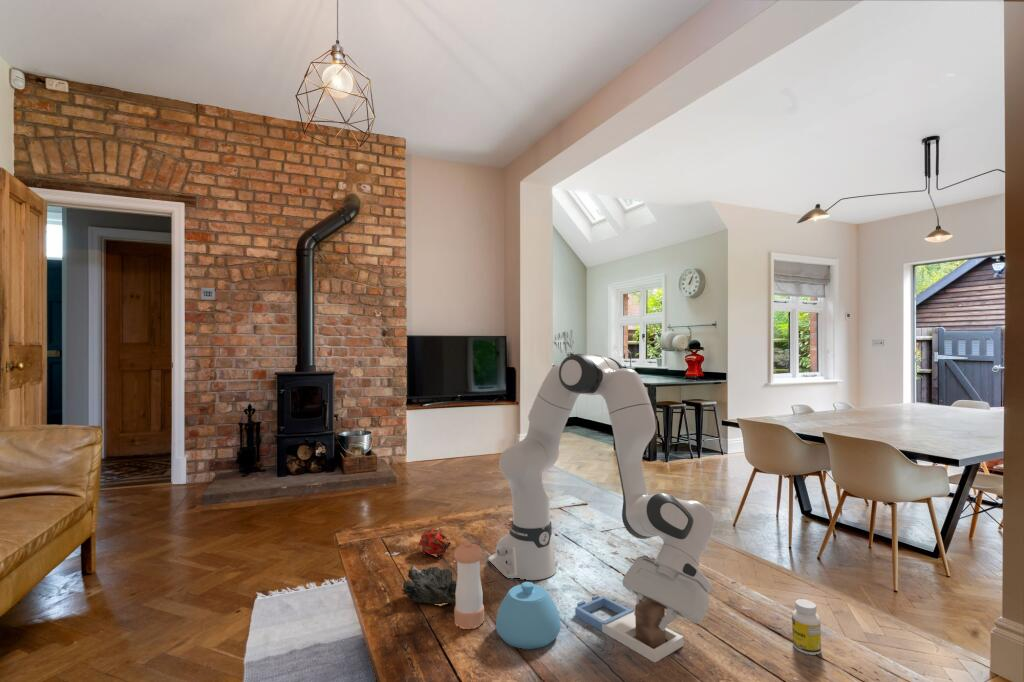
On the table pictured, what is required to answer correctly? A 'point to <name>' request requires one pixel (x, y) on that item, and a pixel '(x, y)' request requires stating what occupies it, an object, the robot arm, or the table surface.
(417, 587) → the mineral specimen
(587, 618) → the two-window frame tray
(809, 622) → the supplement bottle
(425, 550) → the dragon fruit
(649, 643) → the walnut block
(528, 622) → the sugar bowl
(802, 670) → the table surface
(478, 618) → the pepper shaker
